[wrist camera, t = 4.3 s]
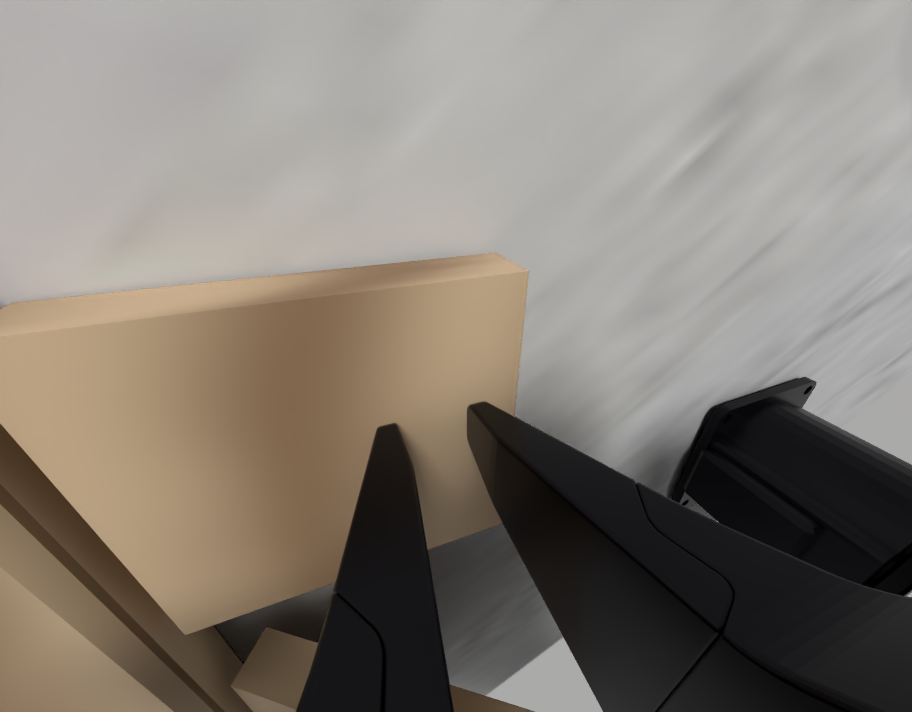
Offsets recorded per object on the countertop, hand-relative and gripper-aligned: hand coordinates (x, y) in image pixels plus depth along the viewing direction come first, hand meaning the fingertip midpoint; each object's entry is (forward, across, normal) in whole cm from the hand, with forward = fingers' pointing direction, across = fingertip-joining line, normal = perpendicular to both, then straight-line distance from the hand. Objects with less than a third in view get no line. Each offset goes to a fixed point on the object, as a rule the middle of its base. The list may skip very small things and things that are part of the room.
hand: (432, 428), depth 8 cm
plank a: (+1, +2, +1) cm, 2 cm away
